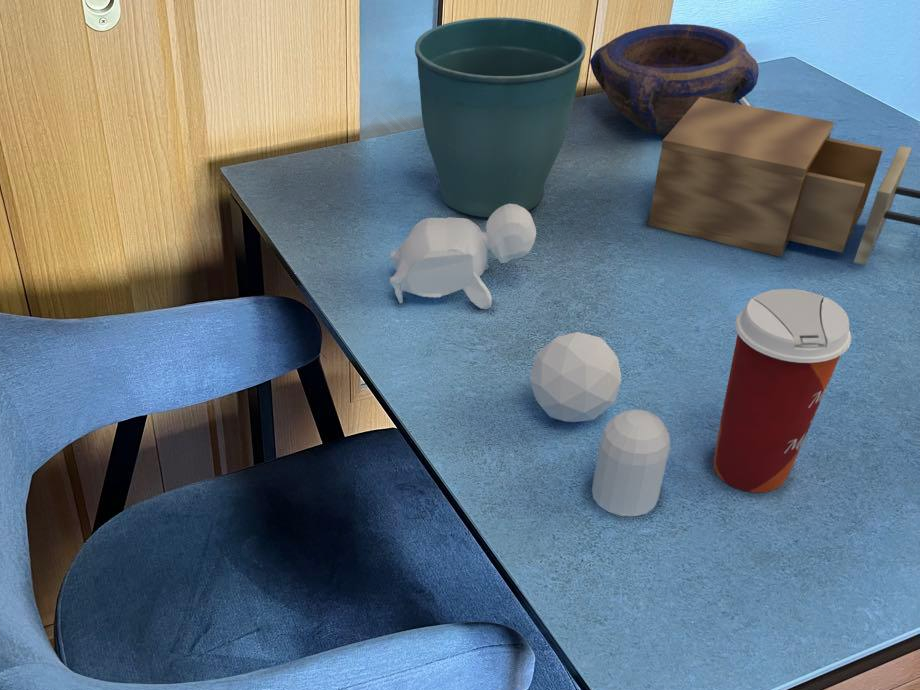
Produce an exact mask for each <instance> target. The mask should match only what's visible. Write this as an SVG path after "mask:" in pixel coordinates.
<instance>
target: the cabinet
mask: <svg viewBox="0 0 920 690" xmlns="http://www.w3.org/2000/svg"><path fill="white" fill-rule="evenodd" d="M834 127H835V121H832V120H827V119H823V118H822V119H821V118H815V117H812V116H811V117H810V116H805V115H800V114H794V113H789V112H785V111H784V112H783V111H778V110H773V109H766V108H762V107H757V106H752V105H751V106H746V105H742V104H741V103H737V102H736V103H730V102H725V101H719V100H714V99H709V98H703V97H700V98H699V99H698V100H697V101H696V102H695V103H694V105H693V106H692V107H691V108H690V109H689V110H688V112H687V113H686V114H685V115H684V116H683V117H682V119H681V120H680V121H679V122H678V123H677V124H676V126H675V127H674V128H673V129H672V130H671V131H670V133H669V134H668V135H667V136H665V137H664V138H663V139H662V143H661V149H660V154H659V161H658V165H657V172H656V177H655V183H654V187H653V188H654V189H653V194H652V199H651V206H650V210H649V216H648V222H647V226H648V227H653V228H656V229H660V230H665V231H669V232H673V233H678V234H682V235H685V236H691V237H695V238H699V239H702V240H707V241H712V242H715V243H720V244H724V245H728V246H732V247H735V248H736V247H737V248H741V249H745V250H749V251H754V252H758V253H762V254H765V255H771V256H775V257H779V258H781V257H782V255H783V254H784V252H785V250H786V249H787V247H788V245H789V244H790V242H791V241H789V240H787V237H788V233H789V230H790V226H791V223H792V219H793V216H794V212H795V209H796V205H797V202H798V198H799V195H800V191H801V187H802V184H803V180H804V177H805V174H806V172H807V170H808V169H809V167H810V165H811V164H812V162H813V160H814V159H815V157H816V156H817V154H818V152H819V151H820V149H821V147H822V146H823V144H824V142H825V141H826V139H827V138H831V136H832V132H833V128H834Z"/></svg>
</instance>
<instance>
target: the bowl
mask: <svg viewBox="0 0 920 690" xmlns="http://www.w3.org/2000/svg"><path fill="white" fill-rule="evenodd" d="M589 64H590V69H591V71H592V74H593V76H594V78H595V80H596V82H597V83H598V84H599V86H600V87H601V89H602V90H603V91H604V92H605V94H606V97H607V98H608V101H609V103H610V104H611V105H612V106H613V107H614V108H615V110H617V112H618V113H619V114H620V115H622V116H623V117H624V118H625V119H627V120H628V121H630V122H631V123H632V124H633V125H635V126H636V127H637V128H638V129H641V130H643V131H645V132H647V133H651V134H653V135H658V136H665V137H666V136H667V135H668V134H669V133H670V131H671V130H672V129H673V128H674V127H675V126H676V124H677V123H678V122H679V121H680V120H681V119H682V117H683V116H684V115H685V114H686V113H687V112H688V110H689V109H690V108H691V107H692V106H693V105H694V103H695V102H696V101H697V100H698V99H699V98H700V97H703V98H709V99H714V100H719V101H725V102H730V103H736V104H737V102H740V101H739V100H740V99H742V98H743V97H746V96H747V95H748V94H749V93H751V92H752V91H754V89H755V87H756V86H757V84H758V79H759V72H760V71H759V65H758V62H757V60H756V59H755V58H754V57H753V56H752V55H751V54H750V53H749V51H748V50H747V46H746V44H745V43H744V42H743V41H742V40H741V39H739V38H738V37H737V36H735V35H734V34H732V33H730V32H728V31H725V30H723V29H720V28H717V27H716V28H715V27H712V26H708V25H699V24H691V23H690V24H689V23H688V24H686V23H671V24H655V25H650V26H645V27H640V28H637V29H634V30H629V31H627V32H624V33H622V34H621V35H619V36H617V37H615V38H613V39H612V40H610V41H609V42H607V43H606V44H605V45H602V46H600V47H599V48H597V49H596V50H595V52H594V53H593V55H592V57H591V58H590V60H589Z"/></svg>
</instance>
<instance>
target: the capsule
mask: <svg viewBox="0 0 920 690" xmlns="http://www.w3.org/2000/svg"><path fill="white" fill-rule="evenodd" d="M670 450H671V439H670V433H669V429H668V427H666V425H665V423H664V421H662V419H660V417H659V416H658V415H656V414H654V413H652V412H650V411H647V410H644V409H628V410H624V411H622V412H620V413H618V414H617V415H616V416H614V417H613V418H611V419H610V420H609V421H608V422H607V424H606V425H605V427H604V430H603V432H602V434H601V437H600V439H599V445H598V451H597V457H596V463H595V468H594V469H595V470H594V475H593V480H592V486H591V492H592V499H593V500H594V501H595V502H596V504H597V505H598V507H600V508H602V509H603V510H605V511H606V512H608V513H611V514H614V515H616V516H621V517H638V516H642V515H646V514H648V513H649V512H650V511H652V510H653V509H655V507H656V505H657V504H658V501H659V497H660V493H661V489H662V485H663V481H664V476H665V471H666V468H667V463H668V459H669V454H670Z"/></svg>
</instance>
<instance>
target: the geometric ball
mask: <svg viewBox="0 0 920 690" xmlns="http://www.w3.org/2000/svg"><path fill="white" fill-rule="evenodd" d="M619 362H620V361H619V357H618V355H617V354H616V353H615V352H614V351H613V349H611V347H610V346H609V345H608V344H607V342H606V341H605V340H604V338H602V336H601V337H600V336H597V335H592V334H587V333H583V332H579V331H576V332H571V333H567V334H562V335H558V336H555V338H553V339H552V340H551V341H549V342H548V343H547V344H546V345H545V346H543V348H541V349H540V350H538V352H536V353H535V357H534V360H533V365H532V370H531V373H530V377H529V383H530V386H531V389H532V393H533V395H534V399H535V400H536V402H537V403H538V404H539V406H540V407H541V409H543V411H545V413H546V414H547V415H548V416H549V417H550V418H552V419H555V420H558V421H563V422H569V423H578V422H587V421H595V420H596V419H597V418H598V417H599V416H600V415H601V414H603V413H604V412H605V411H607V410H608V409H609V408H610V407H611V406H612V405H614V404H615V403H616V401H617V397H618V394H619V390H620V386H621V384H622V373H621V367H620V363H619Z"/></svg>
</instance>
